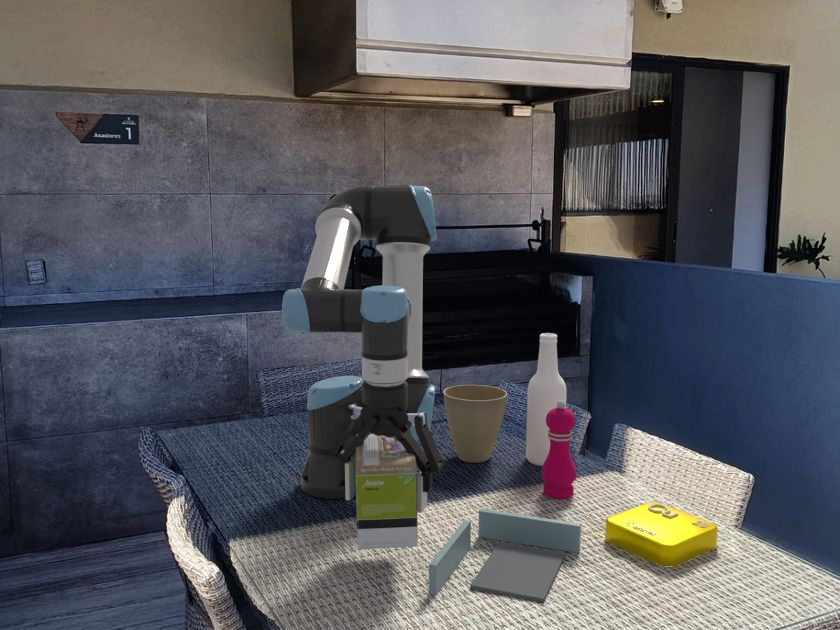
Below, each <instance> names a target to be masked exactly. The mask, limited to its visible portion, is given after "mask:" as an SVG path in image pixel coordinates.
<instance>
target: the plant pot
mask: <svg viewBox="0 0 840 630" xmlns="http://www.w3.org/2000/svg"><path fill="white" fill-rule="evenodd" d="M442 393H443V401H444V409H445V415H446V421H447V425H448V430H449V433H450V436H451V440H452V445H453V447H454V449H455V450H454V451H455V453H456V455H457V457H458V458H457V459H459V460H460V461H463V462H466V463H470V464H471V463H474V464H476V463H477V464H478V463H485V462H486V461H489V459H490V457H491V455H492V453H493V450H494V447H495V445H496V442H497V439H498V437H499V433H500V430H501V427H502V422H503V419H504V414H505V412H506V411H505V410H506V403H507V399H508V392H507V391H506V390H504V389H502V388H499V387H496V386H492V385H484V384H483V385H482V384H459V385H458V384H457V385H453V386H450V387H446V388H445V389H444V390H443V391H442Z"/></svg>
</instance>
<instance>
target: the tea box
mask: <svg viewBox="0 0 840 630" xmlns="http://www.w3.org/2000/svg"><path fill="white" fill-rule="evenodd" d="M357 435H358V434H357ZM357 435H356V437H357ZM417 468H418V466H417V465H416V459H415V455H413V454H409V453H408V452H407V451H406V449H405V448H404V447H403V445H402V444H401V442H398V441H397V439H396V438H395V436H393V437H392V438H391V437H386V436H384V435H381V436H376V435H374V434H370V435H369V436H368V437H367V438H366V440H365V441H364V442H363V443H361V444H360V445H359V446H358V447H356V496H355V499H356V501H355V504H356V507H355V508H356V528H357V529H356V530H357V531H356V532H357V547H358V549H360V550H372V549H374V550H375V549H394V548H396V549H397V548H413V547H418V542H419V541H418V540H419V539H418V537H419V535H418V534H419V532H418V512H417V474H418V469H417Z"/></svg>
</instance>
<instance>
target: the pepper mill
mask: <svg viewBox="0 0 840 630" xmlns="http://www.w3.org/2000/svg"><path fill="white" fill-rule="evenodd" d="M546 424H547V426H548V428H549V429H550V430H548V438H549V439H550V450H549V454H548V456H547V458H546V460H545V462H544V464H543V466H541V472H540V474H541V478H542V479H543V481H544V483H543V485H542V487H543V488H542V491H543V492H542V493H543V495H544V496H546V497H547V498H551V499H555V500H556V499H557V500H566V499H570V498H572V497H573V496H574V492H575V489H574V488H575V486H574V485H573V483H574V482H575V481H576V479H577V469H576V465H575V462H574V460H573V458H572V456H571V452H570V450H571V449H570V443H571V440H572V439H573V431H572V429H574V427H575V425H576V417H575V414H574V413H573V412H572V410H570V409H568V408H567V407H566V408H565V403H564V402H563V401H558V402H557V408H554V409H552V410H550V411H549V412H548V414H547V416H546Z"/></svg>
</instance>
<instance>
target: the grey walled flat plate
mask: <svg viewBox="0 0 840 630" xmlns="http://www.w3.org/2000/svg"><path fill="white" fill-rule="evenodd" d="M471 525H472V521H471V520H466V519H465V520H463V521H462V522H461V524H460V525H459V526H458V527H457V529H456V530H455V531H454V533H452V535H451V536H450V538H449V539H448V540H447V541H446V543H445V544H444V545H443V546H442V547H441V548H440V549H439V551H438V552H437V554H436V555H435V556H434V557H433V559H432V560H431V561H430V562H429V564H428V594H429V595H434V596H437V594H438V593H439V592H440V590H441V589H442V588H443V586H444V585H445V583H446V582H447V581H448V579H449V578H450V576H451V575H452V574H453V573H454V571H455V570H456V568H458V566H459V564H460V563H461V562H462V560H463V559H464V557H465V556H466V555H467V553H468V552H469V550H470V549H471V539H472V538H471V536H472V535H471V534H472V533H471V532H472V531H471V530H472V529H471V528H472V526H471ZM581 531H582V523H580V522H579V523H578V522H575V521H574V522H573V521H572V522H571V521H566V520H559V519H555V518H554V519H552V518H546V517H539V516H532V515H528V514H527V515H526V514H519V513H513V512H508V511H507V512H506V511H499V510H493V509H485V508H480V509H479V510H478V537H479V538H483V539H490V540H497V541H500V542H506V543H509V542H510V543H513V544H519V545H525V546H531V547H537V548H543V549H545V548H546V549H549V550H550V549H551V550H555V551H556V550H557V551H562V552H570V553H576V554H580V551H581V535H582V534H581V533H582V532H581Z"/></svg>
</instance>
